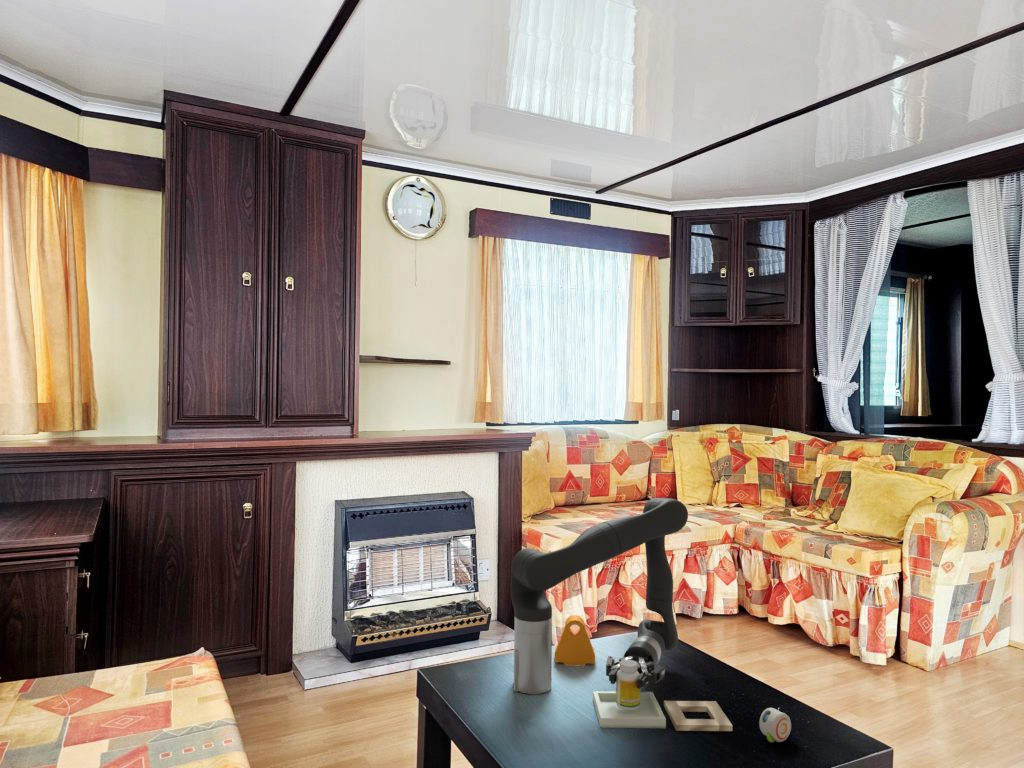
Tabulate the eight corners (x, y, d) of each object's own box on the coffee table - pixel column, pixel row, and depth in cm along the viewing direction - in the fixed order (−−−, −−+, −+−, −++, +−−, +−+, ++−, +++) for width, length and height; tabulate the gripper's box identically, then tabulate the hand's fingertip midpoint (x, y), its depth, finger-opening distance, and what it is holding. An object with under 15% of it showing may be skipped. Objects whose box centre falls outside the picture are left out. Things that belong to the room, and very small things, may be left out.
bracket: (594, 656, 191) (594, 612, 191) (595, 666, 184) (595, 621, 184) (555, 655, 192) (555, 611, 192) (554, 665, 184) (554, 619, 185)
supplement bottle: (611, 703, 157) (611, 660, 157) (631, 698, 159) (630, 656, 160) (625, 712, 152) (625, 668, 152) (645, 708, 155) (645, 664, 155)
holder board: (676, 730, 148) (676, 724, 148) (663, 706, 160) (663, 700, 160) (732, 731, 148) (732, 725, 148) (715, 706, 160) (715, 701, 160)
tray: (600, 727, 149) (600, 718, 149) (593, 699, 163) (593, 691, 163) (665, 728, 149) (665, 718, 149) (652, 700, 163) (652, 691, 163)
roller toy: (755, 737, 145) (755, 709, 145) (776, 730, 148) (776, 703, 149) (772, 746, 141) (772, 717, 142) (793, 739, 144) (793, 711, 145)
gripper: (614, 636, 172) (594, 659, 157) (672, 644, 166) (657, 670, 151) (614, 666, 172) (594, 693, 156) (672, 676, 166) (657, 704, 151)
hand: (625, 681), depth 154 cm, fingers closed on supplement bottle, 5 cm apart
